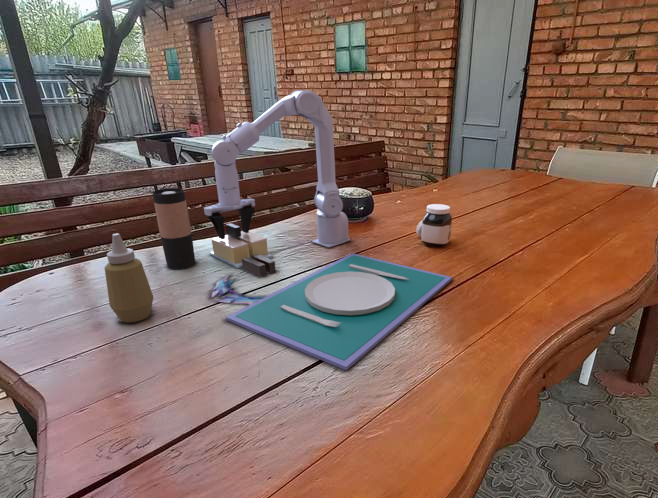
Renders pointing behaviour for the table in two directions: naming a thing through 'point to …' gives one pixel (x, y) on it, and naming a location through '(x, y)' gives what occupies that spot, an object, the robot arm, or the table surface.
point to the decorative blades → (223, 289)
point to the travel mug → (174, 227)
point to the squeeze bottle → (127, 283)
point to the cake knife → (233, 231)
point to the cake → (239, 248)
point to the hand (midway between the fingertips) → (234, 235)
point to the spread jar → (435, 226)
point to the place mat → (341, 307)
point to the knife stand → (258, 265)
